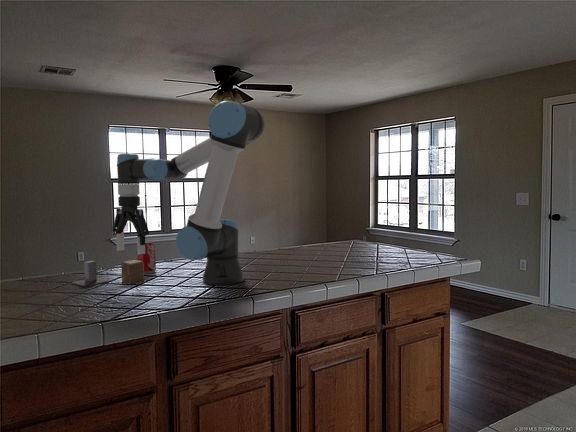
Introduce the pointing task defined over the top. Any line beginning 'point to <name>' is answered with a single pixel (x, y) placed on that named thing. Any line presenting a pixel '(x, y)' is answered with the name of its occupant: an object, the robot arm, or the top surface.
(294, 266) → the top surface
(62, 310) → the top surface
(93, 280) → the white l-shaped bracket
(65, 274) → the top surface
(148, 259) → the soda can
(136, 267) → the tan wooden block
